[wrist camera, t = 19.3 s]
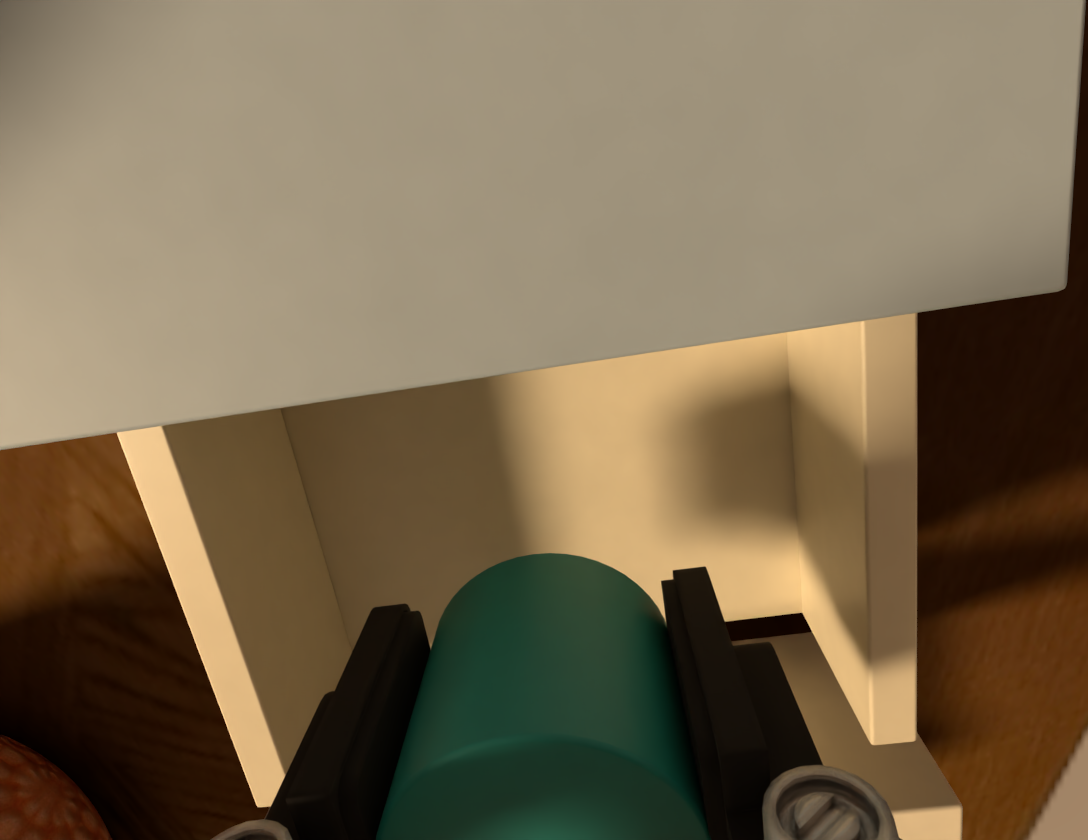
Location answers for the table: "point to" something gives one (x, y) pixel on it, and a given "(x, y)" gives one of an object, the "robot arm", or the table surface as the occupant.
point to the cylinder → (547, 715)
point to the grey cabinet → (499, 187)
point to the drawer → (571, 525)
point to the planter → (42, 799)
